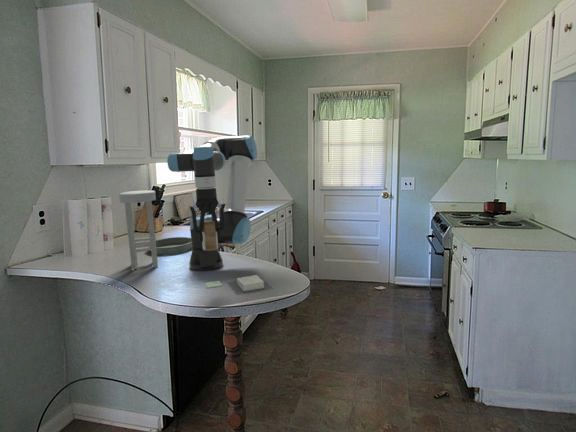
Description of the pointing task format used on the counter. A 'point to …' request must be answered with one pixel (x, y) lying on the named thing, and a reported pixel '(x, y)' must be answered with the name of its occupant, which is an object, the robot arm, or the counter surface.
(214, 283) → the rest pad
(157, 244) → the cake pan
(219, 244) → the kitchen cleaver
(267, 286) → the mat
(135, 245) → the stool
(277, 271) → the counter surface
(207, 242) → the block
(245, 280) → the tile
